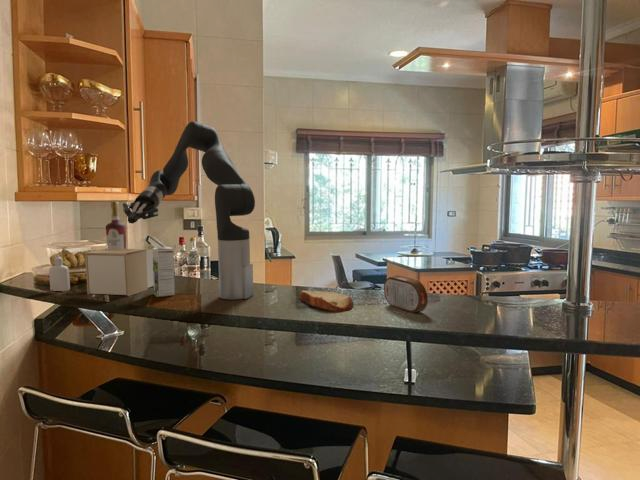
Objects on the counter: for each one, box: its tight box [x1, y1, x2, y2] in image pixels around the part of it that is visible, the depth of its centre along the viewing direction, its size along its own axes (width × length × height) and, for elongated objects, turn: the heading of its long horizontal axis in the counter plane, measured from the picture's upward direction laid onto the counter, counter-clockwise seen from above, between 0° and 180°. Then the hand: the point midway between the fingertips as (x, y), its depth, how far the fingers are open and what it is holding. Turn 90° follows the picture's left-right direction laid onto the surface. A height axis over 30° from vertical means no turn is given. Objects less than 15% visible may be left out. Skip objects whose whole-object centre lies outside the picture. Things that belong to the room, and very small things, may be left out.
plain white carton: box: [87, 248, 154, 296], centre depth 155 cm, size 13×17×12 cm
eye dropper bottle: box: [48, 253, 71, 293], centre depth 155 cm, size 4×6×12 cm
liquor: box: [105, 201, 127, 249], centre depth 185 cm, size 7×7×28 cm
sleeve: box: [84, 248, 149, 297], centre depth 152 cm, size 15×10×13 cm
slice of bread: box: [298, 289, 354, 313], centre depth 133 cm, size 18×18×4 cm
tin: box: [383, 274, 429, 314], centre depth 125 cm, size 15×3×8 cm, turn 30°
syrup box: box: [152, 246, 176, 298], centre depth 147 cm, size 6×6×14 cm
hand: (130, 220), depth 161 cm, fingers closed
